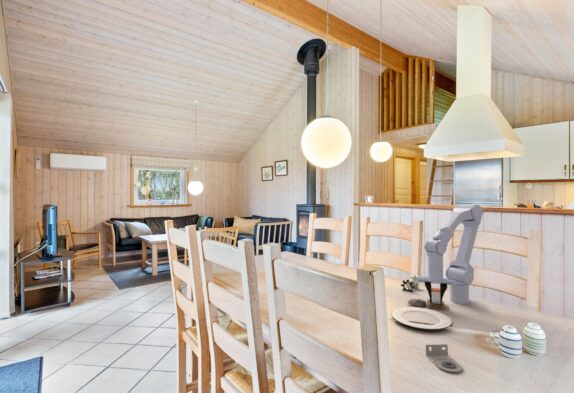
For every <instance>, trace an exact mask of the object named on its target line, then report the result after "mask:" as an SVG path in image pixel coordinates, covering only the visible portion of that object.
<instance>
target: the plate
mask: <svg viewBox="0 0 574 393" xmlns="http://www.w3.org/2000/svg"><path fill="white" fill-rule="evenodd" d="M407 313H422V314H427V315H430V316H433V317H435V318H436V319H438V320H439V323H437V324H435V323H426V322H421V321H420V322H419V321H415V320H414V321H413V320H406V319H404V317H403V315H405V314H407ZM391 316H392V318H393V319H394V320H395V321H396V322H398V323H399V324H402V325H404V326H407V327H410V328H412V329H413V328H414V329H419V330H422V331H423V330H425V331H438V330H443V329H447V328H449V327H451V325H452V319H451V318H450V317H449V316H448V315H446V314H444V313H442V312H440V311H438V310H433V309H425V308H417V307H409V306H407V307H401V308H400V307H399V308H396V309H395V310H393V311H392V313H391Z"/></svg>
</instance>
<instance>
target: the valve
mask: <svg viewBox="0 0 574 393" xmlns="http://www.w3.org/2000/svg"><path fill="white" fill-rule="evenodd" d="M417 277H420V276H419V275H417V274H412V275H410V279H406V280H404V279H403V280H402V283H401V284H400V286H401V287H403V288H402V291H406V292H410V293H414V290H415V291H416V290H419V288H420V286H419V285H420V282H417Z"/></svg>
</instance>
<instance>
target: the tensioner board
mask: <svg viewBox="0 0 574 393" xmlns="http://www.w3.org/2000/svg"><path fill="white" fill-rule="evenodd" d="M407 307H416V308H424V309H429V310H434V311H443V312H451V310H450V309H451V308H450V306H449V304H446V303H445V302H444V301H443V300H442V302H440V305H437V304H431V301H430V299H429V298H427V300H424V299H421V298H410V299H408V300H407Z"/></svg>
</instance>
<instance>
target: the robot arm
mask: <svg viewBox="0 0 574 393" xmlns="http://www.w3.org/2000/svg"><path fill="white" fill-rule="evenodd" d="M483 214H484V212H483V208H482V207H481V205H480V204H478V203H477V204H462V203H457V204H456V205H455V207H454V208H453V209H452V216H451V217H450V219H449V221H448V222H447V224H446V225H445V226H441V227H440V228H438V231H436V233H435V235H434V236H433V237H432V238H431V239H428V240H427V241H425V245H424V249H425V252H426V257H427V275H428V276H419V277H417V282H419V283H424V286H425V288H426V290H427V293H428V296H429V300H430V301H432V296H431V288H432V284H436V285H437V284H438V285H439V288H440V302H442V301H443V297H444V296H445V292H446V291H447V289H448V286H449V293H450V294H449V296H450V297H449V298H450V299H449V300H450V302H452V303H453V304H458V305H459V304H460V305H469V303H470V285H471V284H472V283H473V282H474V279H475V278H474V277H475V276H474V274H475V273H474V272H475V268H474V267H473V266H472V265H471V264H470V260H471V258H472V253H473V249H474V245H475V242H476V237H477V234H478V230H479V225H481V222H482V219H483ZM460 224H462V225H463V231H462V233H461V237H460V243H459V247H458V249H457V254H456V256H455V259H453V260H452V261H450V262H449V264H448V266H447V268H446V270H445V277H446V278H444V254H445V253H446V252H447V249H448V248H447V247H448V243H449V242H450V241H451V239H452V238H453V237H454V234H455V233H454V231H455V230H456V228H458V226H460Z"/></svg>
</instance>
